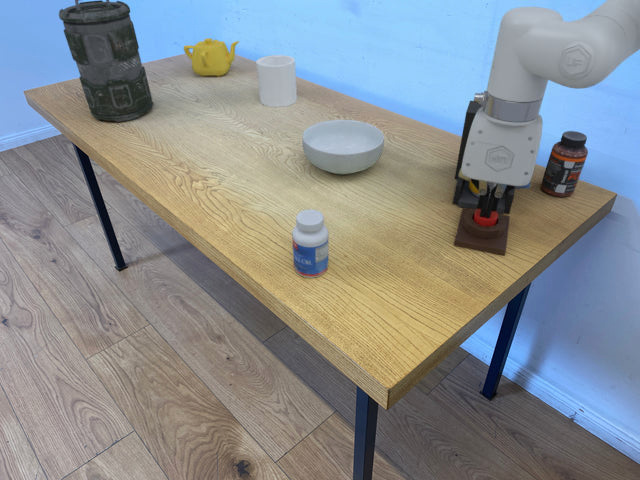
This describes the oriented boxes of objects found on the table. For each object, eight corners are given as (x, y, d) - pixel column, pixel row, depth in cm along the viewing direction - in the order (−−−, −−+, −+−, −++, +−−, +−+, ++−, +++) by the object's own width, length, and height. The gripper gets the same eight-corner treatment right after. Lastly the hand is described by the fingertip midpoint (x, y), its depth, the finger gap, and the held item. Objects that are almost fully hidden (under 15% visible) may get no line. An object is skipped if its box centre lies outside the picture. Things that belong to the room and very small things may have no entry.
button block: (508, 221, 82) (512, 207, 81) (504, 255, 75) (508, 241, 73) (461, 213, 85) (464, 199, 83) (453, 245, 77) (456, 230, 76)
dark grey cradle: (519, 174, 95) (536, 107, 87) (515, 216, 84) (535, 144, 75) (458, 165, 99) (470, 100, 90) (446, 204, 87) (458, 134, 79)
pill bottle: (286, 268, 74) (282, 217, 68) (310, 252, 77) (308, 201, 71) (312, 284, 71) (310, 232, 65) (335, 266, 74) (335, 215, 68)
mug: (263, 89, 137) (260, 51, 131) (298, 89, 137) (297, 51, 130) (257, 107, 126) (253, 67, 120) (295, 107, 126) (293, 66, 120)
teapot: (225, 63, 158) (220, 30, 151) (243, 73, 149) (239, 39, 143) (186, 72, 151) (180, 38, 145) (204, 82, 143) (198, 47, 137)
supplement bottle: (566, 201, 87) (586, 145, 80) (534, 190, 90) (551, 136, 84) (578, 189, 91) (598, 134, 84) (547, 179, 94) (564, 125, 87)
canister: (104, 129, 117) (64, 5, 100) (83, 110, 127) (45, -5, 110) (163, 112, 125) (136, -5, 108) (140, 96, 135) (112, -14, 118)
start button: (496, 218, 79) (498, 209, 78) (494, 230, 77) (497, 221, 76) (474, 214, 80) (476, 205, 79) (472, 225, 78) (473, 217, 77)
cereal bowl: (393, 180, 95) (396, 148, 90) (312, 191, 92) (311, 158, 88) (368, 143, 108) (369, 114, 103) (297, 152, 105) (295, 122, 101)
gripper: (453, 108, 66) (435, 216, 77) (570, 123, 61) (533, 235, 73) (461, 90, 71) (443, 193, 83) (568, 102, 67) (534, 209, 78)
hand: (485, 212), depth 78 cm, fingers closed
